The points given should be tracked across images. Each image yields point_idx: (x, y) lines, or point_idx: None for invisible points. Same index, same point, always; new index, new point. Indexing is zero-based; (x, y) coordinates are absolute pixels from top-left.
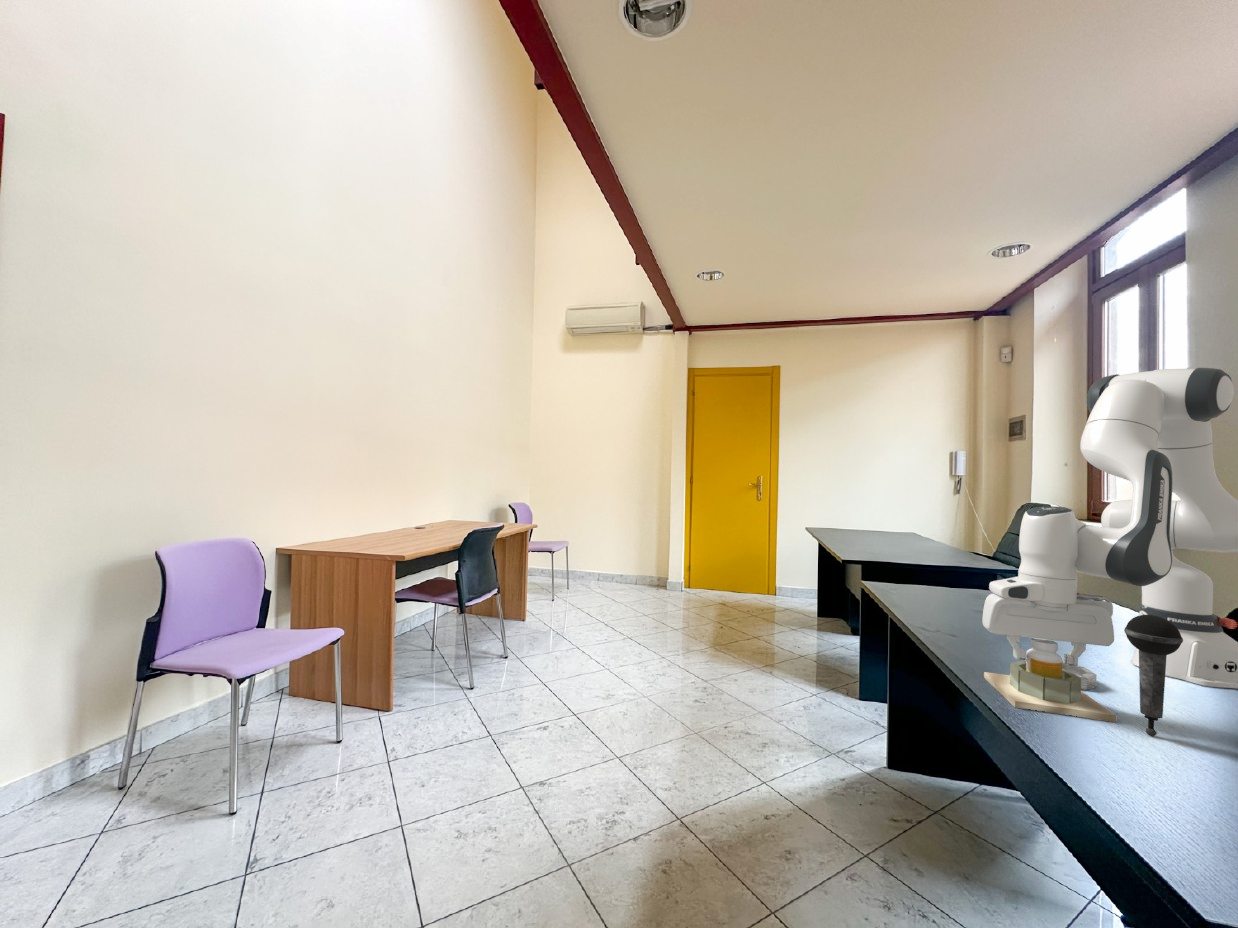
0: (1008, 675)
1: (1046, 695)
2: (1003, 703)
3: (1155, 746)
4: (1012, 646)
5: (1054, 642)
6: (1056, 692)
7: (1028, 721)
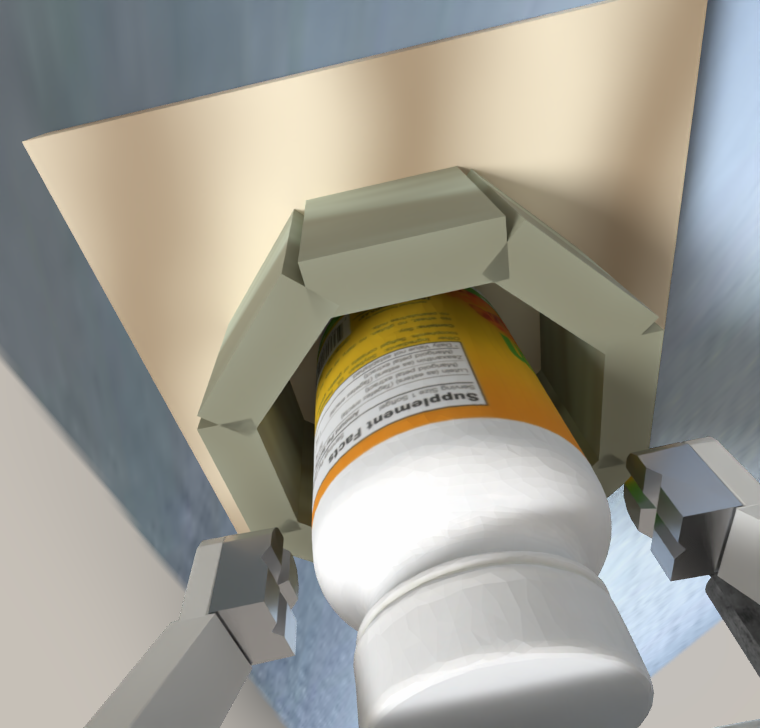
0: (216, 109)
1: None
2: (210, 516)
3: (635, 573)
4: (167, 645)
5: (623, 713)
6: None
7: (292, 610)
